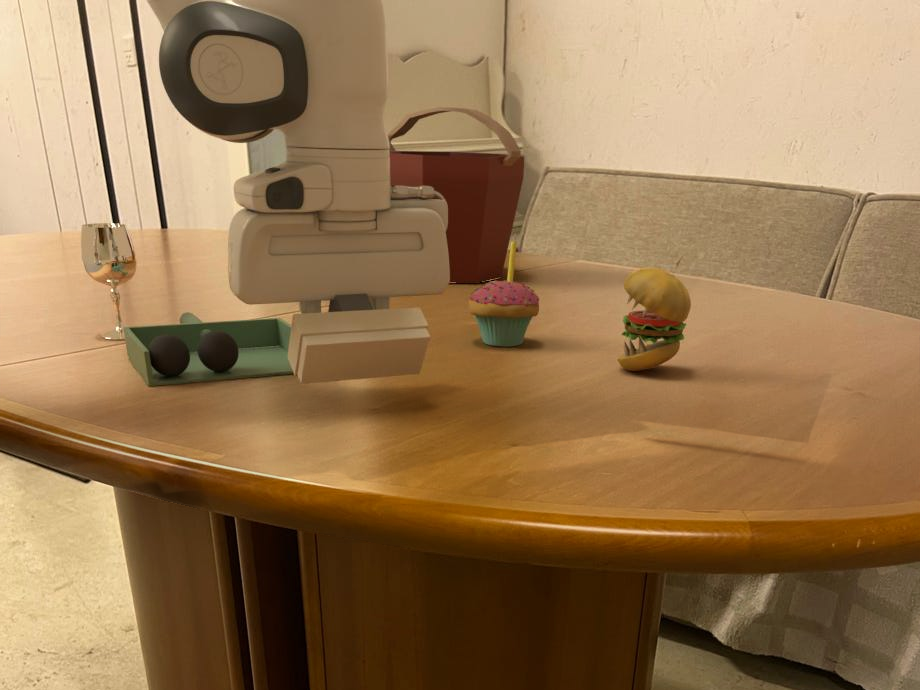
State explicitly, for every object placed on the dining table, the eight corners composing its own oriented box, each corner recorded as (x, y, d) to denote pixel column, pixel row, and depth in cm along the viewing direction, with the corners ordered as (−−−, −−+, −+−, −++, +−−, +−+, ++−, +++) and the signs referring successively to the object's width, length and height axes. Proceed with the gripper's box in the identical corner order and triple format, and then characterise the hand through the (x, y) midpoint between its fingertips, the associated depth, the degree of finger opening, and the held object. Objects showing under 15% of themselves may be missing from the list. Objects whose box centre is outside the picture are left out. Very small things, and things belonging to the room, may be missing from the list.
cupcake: (487, 333, 117) (490, 229, 111) (549, 341, 114) (555, 235, 108) (455, 345, 110) (457, 236, 104) (520, 354, 107) (526, 242, 101)
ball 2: (219, 354, 97) (240, 329, 95) (228, 384, 96) (250, 360, 94) (185, 342, 94) (207, 317, 92) (194, 373, 93) (217, 348, 90)
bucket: (357, 271, 159) (351, 104, 147) (453, 262, 173) (455, 108, 160) (451, 291, 144) (453, 106, 132) (549, 280, 157) (559, 110, 145)
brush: (433, 335, 83) (409, 284, 86) (304, 343, 79) (282, 289, 81) (421, 375, 88) (398, 325, 90) (298, 386, 83) (278, 333, 85)
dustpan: (316, 371, 97) (314, 339, 95) (148, 386, 90) (143, 351, 88) (258, 330, 114) (256, 302, 113) (114, 340, 107) (109, 310, 106)
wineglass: (85, 336, 109) (65, 224, 103) (126, 329, 113) (110, 221, 107) (116, 343, 106) (97, 229, 100) (157, 335, 110) (142, 225, 104)
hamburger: (625, 360, 106) (637, 247, 100) (687, 368, 103) (703, 252, 97) (606, 374, 99) (618, 255, 94) (673, 383, 97) (689, 260, 91)
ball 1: (170, 358, 95) (201, 349, 93) (161, 388, 93) (194, 379, 92) (143, 331, 92) (176, 321, 90) (134, 361, 90) (167, 351, 88)
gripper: (433, 183, 87) (432, 334, 94) (214, 183, 79) (231, 349, 85) (462, 188, 82) (460, 347, 89) (232, 188, 74) (249, 364, 80)
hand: (346, 348), depth 87 cm, fingers closed on brush, 3 cm apart
